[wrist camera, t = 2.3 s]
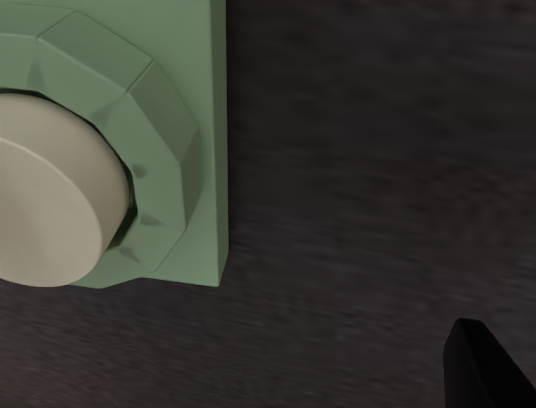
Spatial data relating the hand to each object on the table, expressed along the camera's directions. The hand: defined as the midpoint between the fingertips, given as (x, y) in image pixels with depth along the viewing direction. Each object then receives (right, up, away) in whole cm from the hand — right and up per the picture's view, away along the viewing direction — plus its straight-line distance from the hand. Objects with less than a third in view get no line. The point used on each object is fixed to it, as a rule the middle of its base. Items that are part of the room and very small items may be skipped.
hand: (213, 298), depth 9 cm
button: (-4, +3, +3) cm, 6 cm away
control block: (-4, +4, +5) cm, 8 cm away
